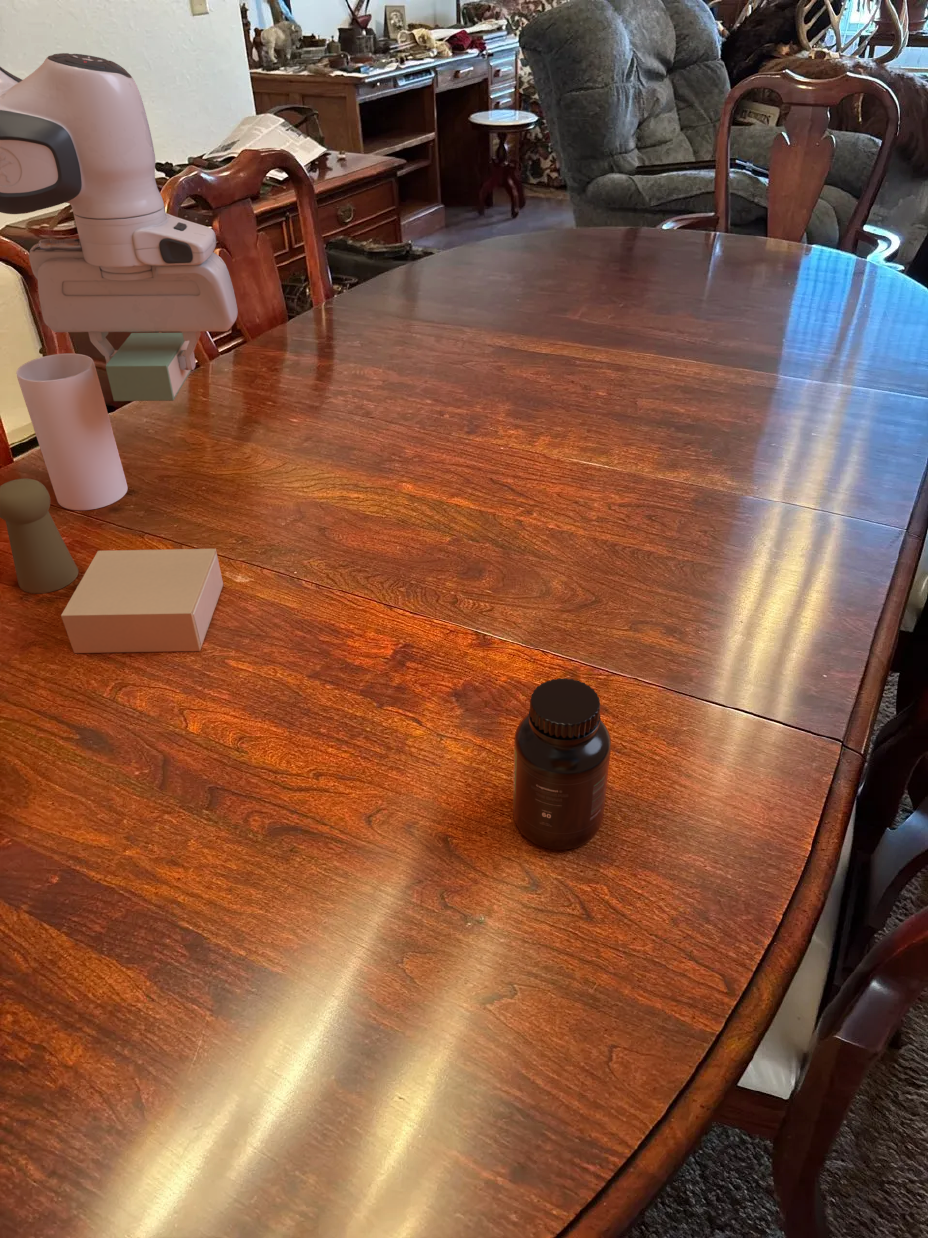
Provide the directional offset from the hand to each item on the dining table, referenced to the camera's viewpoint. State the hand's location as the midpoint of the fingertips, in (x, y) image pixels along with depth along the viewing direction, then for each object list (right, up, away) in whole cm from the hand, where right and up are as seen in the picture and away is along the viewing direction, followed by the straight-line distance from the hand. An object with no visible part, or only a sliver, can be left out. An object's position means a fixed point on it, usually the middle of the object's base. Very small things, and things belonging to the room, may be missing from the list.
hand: (153, 368), depth 103 cm
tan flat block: (+4, -28, -11) cm, 30 cm away
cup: (-11, -13, +9) cm, 19 cm away
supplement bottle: (+42, -43, -32) cm, 68 cm away
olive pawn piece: (-9, -24, -5) cm, 26 cm away
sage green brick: (0, -1, +1) cm, 2 cm away
